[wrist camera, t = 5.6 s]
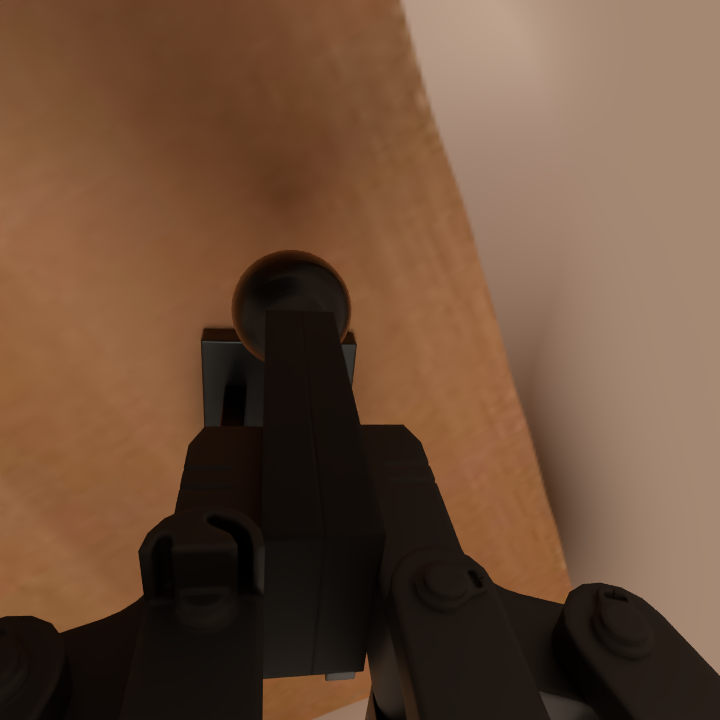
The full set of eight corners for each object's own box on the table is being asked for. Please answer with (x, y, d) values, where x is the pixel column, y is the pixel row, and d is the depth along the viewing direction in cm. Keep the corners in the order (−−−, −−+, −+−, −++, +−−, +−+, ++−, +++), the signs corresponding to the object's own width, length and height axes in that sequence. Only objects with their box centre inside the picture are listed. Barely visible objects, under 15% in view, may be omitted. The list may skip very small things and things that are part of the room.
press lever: (235, 236, 16) (226, 261, 13) (347, 243, 16) (364, 268, 13) (235, 591, 20) (229, 669, 18) (321, 587, 21) (330, 661, 18)
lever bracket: (203, 328, 25) (152, 542, 14) (353, 332, 27) (412, 534, 16) (209, 479, 30) (173, 734, 19) (338, 477, 31) (376, 715, 20)
